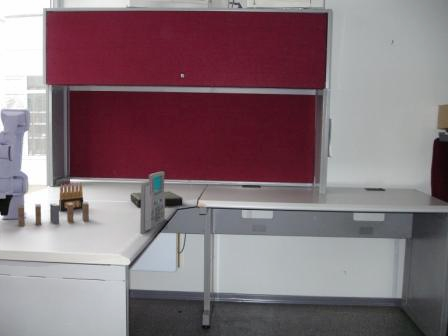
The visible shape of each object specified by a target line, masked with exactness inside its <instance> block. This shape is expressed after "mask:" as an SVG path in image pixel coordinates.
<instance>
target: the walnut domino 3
mask: <svg viewBox="0 0 448 336" xmlns="http://www.w3.org/2000/svg"><path fill="white" fill-rule="evenodd" d="M66 214H67V216H66V218H67V219H66V220H67V222H68V224H72V223H74V210H73V203H67V211H66Z"/></svg>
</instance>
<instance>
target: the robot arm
mask: <svg viewBox="0 0 448 336" xmlns="http://www.w3.org/2000/svg"><path fill="white" fill-rule="evenodd" d="M0 119H1V123H2V126H3V130H2V131H0V216H1V217H2V220H14V219H17V220H18V206H19V205H24V206H25V195H26V194H28V192H29V177H28V175H27V173H25V172H24V171H22V163H23V162H22V161H23V149H24V148H23V144H24V137H25V133H26V132H28V131H30V127H31V126H30V123H31V113H30V110H29V108H19V107H18V108H15V107H13V108H12V107H2V108H1V110H0ZM26 215H27V212H24V219H26Z"/></svg>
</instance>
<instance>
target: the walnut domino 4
mask: <svg viewBox="0 0 448 336" xmlns="http://www.w3.org/2000/svg"><path fill="white" fill-rule="evenodd" d="M89 209H90V207H89V202H88V201H83V202H82V212H81V214H82V222H85V223H86V222H87V223H88V222H89V221H90V219H89V218H90V216H89V215H90V212H89V211H90V210H89Z"/></svg>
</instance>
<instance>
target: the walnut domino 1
mask: <svg viewBox="0 0 448 336" xmlns="http://www.w3.org/2000/svg"><path fill="white" fill-rule="evenodd" d="M24 213H25V204H24V205H19V206H18V218H17V220H18V221H17V222H18V227H25V222H26V221H25V218H24Z"/></svg>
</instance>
